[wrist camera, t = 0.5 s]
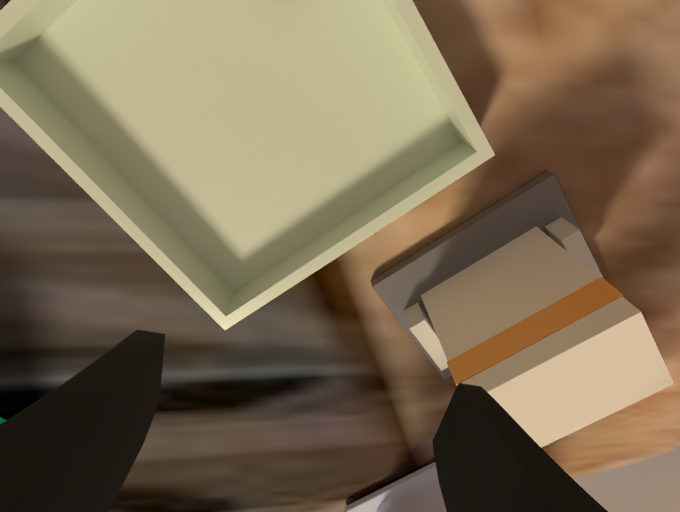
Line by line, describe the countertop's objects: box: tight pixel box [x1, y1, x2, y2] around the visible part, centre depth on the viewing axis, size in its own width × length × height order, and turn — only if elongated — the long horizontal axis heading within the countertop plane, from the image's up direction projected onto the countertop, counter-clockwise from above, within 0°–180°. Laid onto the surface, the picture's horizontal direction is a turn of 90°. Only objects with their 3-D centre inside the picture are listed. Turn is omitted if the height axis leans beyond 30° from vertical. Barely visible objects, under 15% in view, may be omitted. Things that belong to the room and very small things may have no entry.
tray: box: [0, 0, 495, 330], centre depth 16 cm, size 13×13×2 cm
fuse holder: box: [371, 171, 605, 380], centre depth 20 cm, size 7×9×2 cm
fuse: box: [421, 227, 674, 447], centre depth 18 cm, size 4×6×7 cm, turn 125°
